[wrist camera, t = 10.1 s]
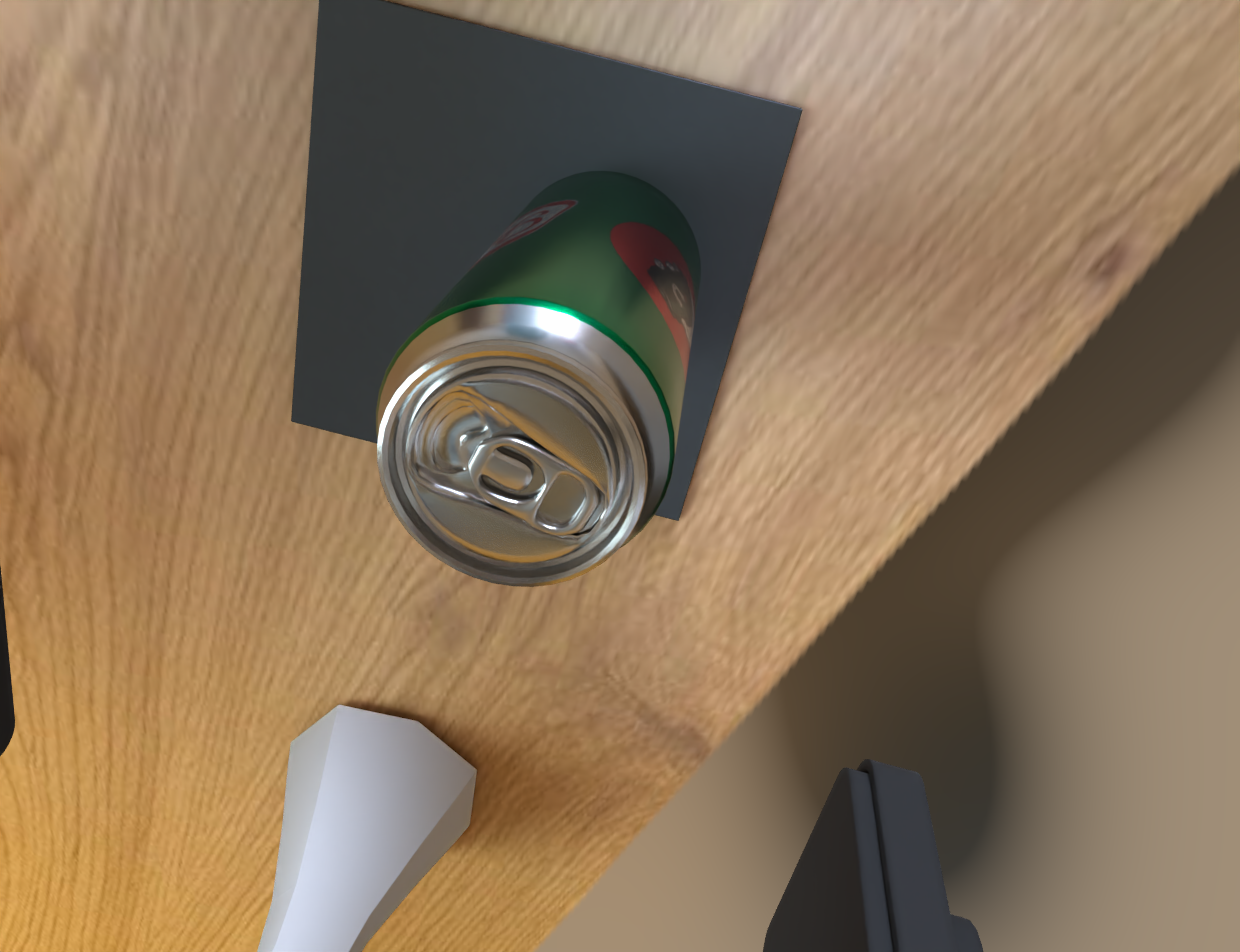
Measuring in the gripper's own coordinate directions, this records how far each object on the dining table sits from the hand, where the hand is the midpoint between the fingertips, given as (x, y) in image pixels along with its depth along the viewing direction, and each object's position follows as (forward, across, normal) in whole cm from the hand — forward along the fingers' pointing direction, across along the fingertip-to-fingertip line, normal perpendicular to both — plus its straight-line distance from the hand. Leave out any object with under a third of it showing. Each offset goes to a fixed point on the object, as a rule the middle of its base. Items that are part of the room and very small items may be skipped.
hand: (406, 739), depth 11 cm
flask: (+18, +4, +20) cm, 28 cm away
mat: (+18, +3, 0) cm, 18 cm away
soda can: (+18, 0, -1) cm, 18 cm away
